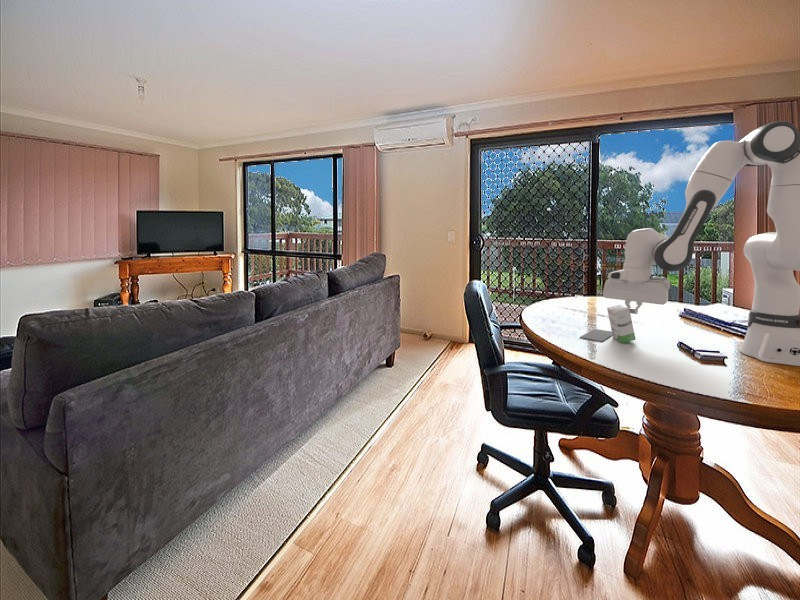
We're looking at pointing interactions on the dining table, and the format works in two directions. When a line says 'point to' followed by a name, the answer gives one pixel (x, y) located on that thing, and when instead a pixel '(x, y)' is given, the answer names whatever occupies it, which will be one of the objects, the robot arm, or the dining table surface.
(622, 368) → the dining table surface
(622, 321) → the ink box
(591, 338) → the mat
